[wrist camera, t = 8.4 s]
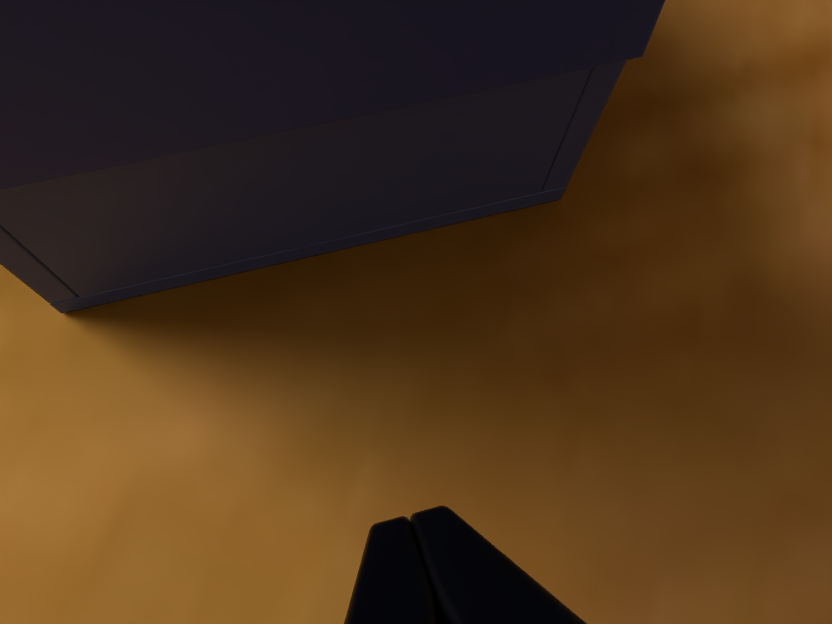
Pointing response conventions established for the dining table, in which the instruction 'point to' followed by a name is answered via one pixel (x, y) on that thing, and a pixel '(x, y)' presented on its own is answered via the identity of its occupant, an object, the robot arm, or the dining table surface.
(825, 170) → the dining table surface
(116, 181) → the box
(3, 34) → the lid
